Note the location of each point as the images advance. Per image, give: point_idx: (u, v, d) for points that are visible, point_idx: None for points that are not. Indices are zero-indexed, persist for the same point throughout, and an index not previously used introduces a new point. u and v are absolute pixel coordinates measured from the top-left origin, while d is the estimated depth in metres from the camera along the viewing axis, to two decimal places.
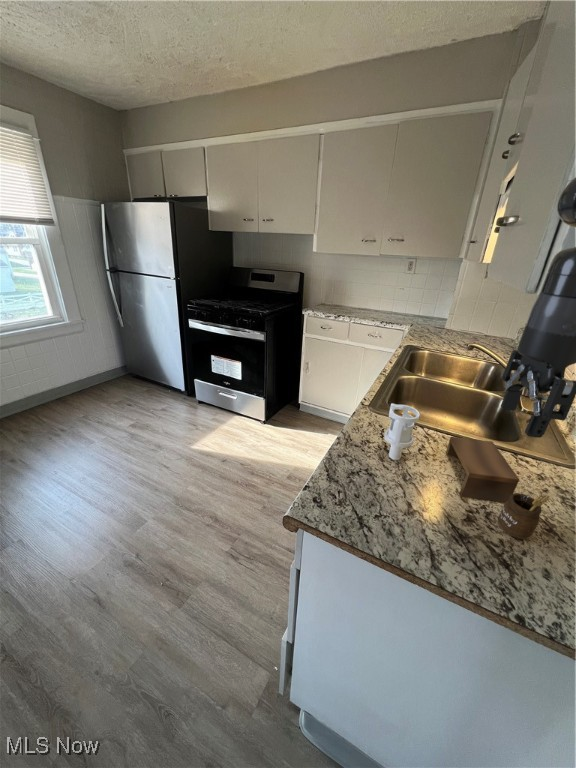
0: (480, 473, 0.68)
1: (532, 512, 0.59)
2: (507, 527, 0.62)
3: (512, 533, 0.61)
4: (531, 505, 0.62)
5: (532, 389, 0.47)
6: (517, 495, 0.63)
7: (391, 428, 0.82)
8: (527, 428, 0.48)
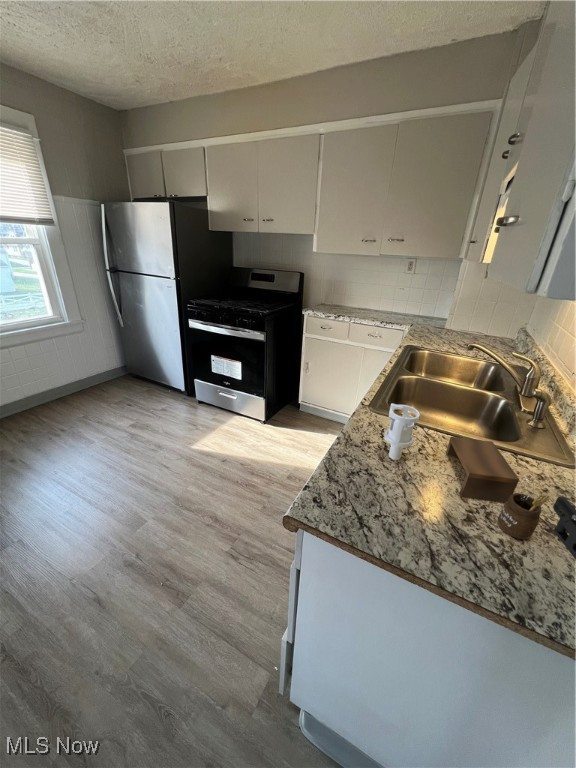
0: (480, 473, 0.68)
1: (532, 512, 0.59)
2: (507, 527, 0.62)
3: (512, 533, 0.61)
4: (531, 505, 0.62)
5: None
6: (517, 495, 0.63)
7: (391, 428, 0.82)
8: None
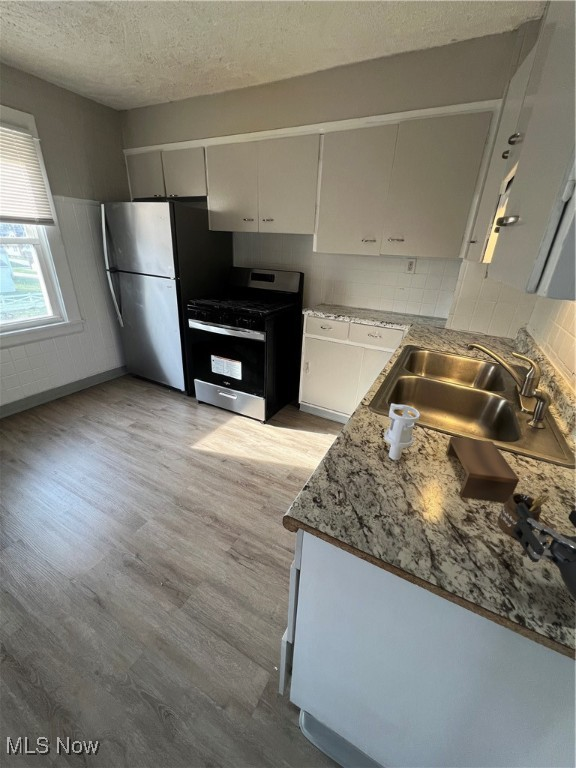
0: (480, 473, 0.68)
1: (532, 512, 0.59)
2: (507, 527, 0.62)
3: (512, 533, 0.61)
4: (531, 505, 0.62)
5: None
6: (517, 495, 0.63)
7: (391, 428, 0.82)
8: None
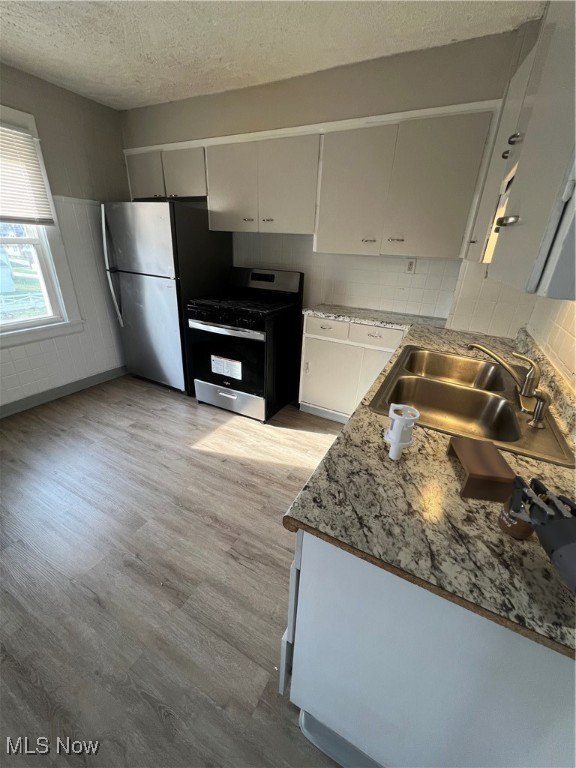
0: (480, 473, 0.68)
1: None
2: (507, 527, 0.62)
3: (512, 533, 0.61)
4: None
5: None
6: None
7: (391, 428, 0.82)
8: None
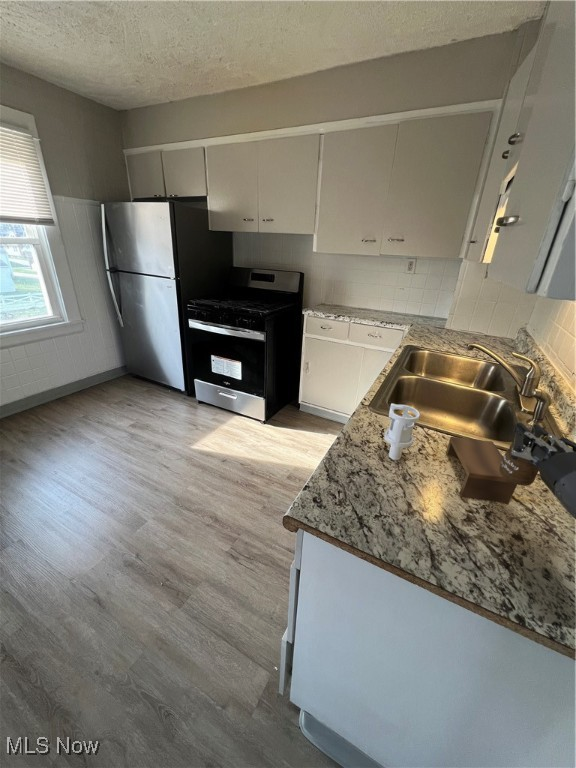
0: (480, 473, 0.68)
1: None
2: (508, 474, 0.62)
3: (513, 479, 0.61)
4: None
5: None
6: None
7: (391, 428, 0.82)
8: (535, 436, 0.61)
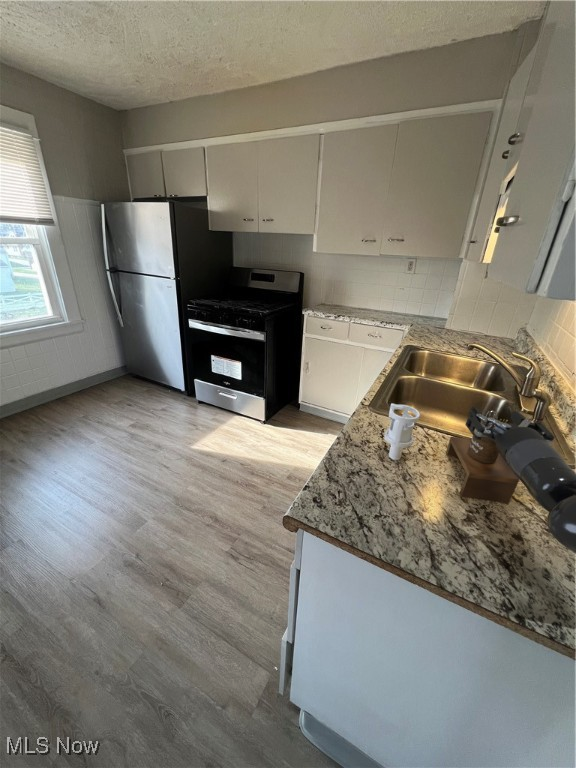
0: (480, 473, 0.68)
1: None
2: (475, 453, 0.72)
3: (478, 458, 0.71)
4: None
5: None
6: None
7: (391, 428, 0.82)
8: None
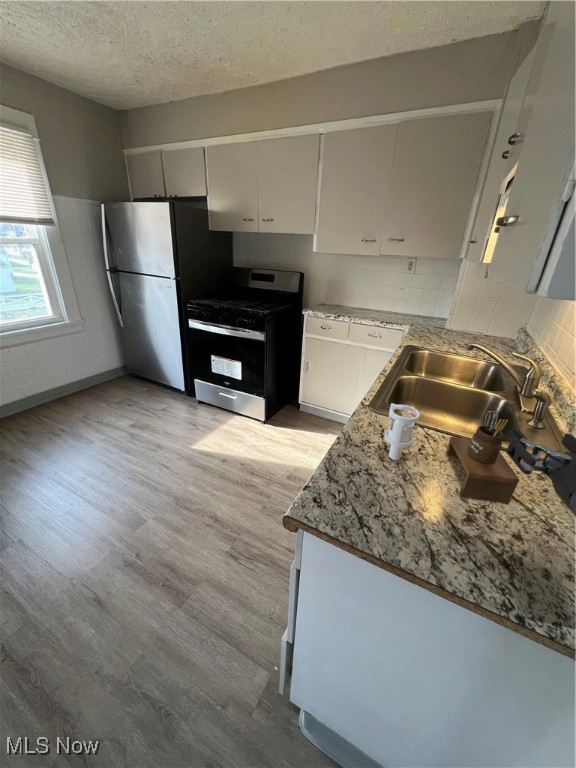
0: (480, 473, 0.68)
1: (495, 437, 0.68)
2: (475, 453, 0.72)
3: (478, 458, 0.71)
4: (495, 434, 0.72)
5: None
6: (484, 427, 0.73)
7: (391, 428, 0.82)
8: None
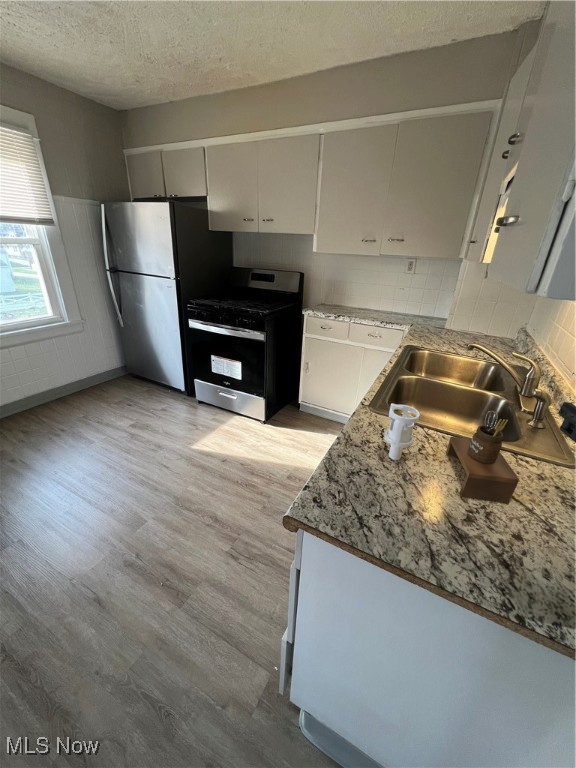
0: (480, 473, 0.68)
1: (495, 437, 0.68)
2: (475, 453, 0.72)
3: (478, 458, 0.71)
4: (495, 434, 0.72)
5: None
6: (484, 427, 0.73)
7: (391, 428, 0.82)
8: None
